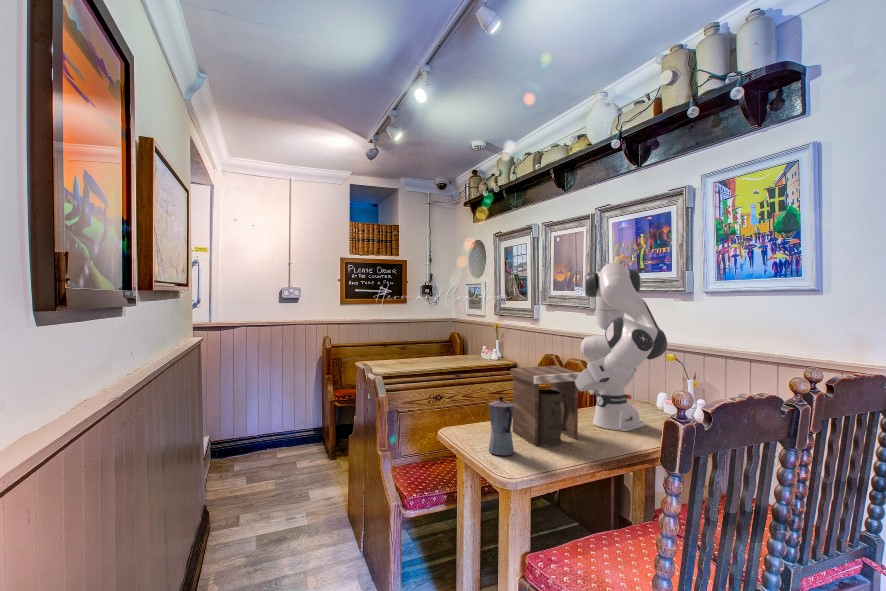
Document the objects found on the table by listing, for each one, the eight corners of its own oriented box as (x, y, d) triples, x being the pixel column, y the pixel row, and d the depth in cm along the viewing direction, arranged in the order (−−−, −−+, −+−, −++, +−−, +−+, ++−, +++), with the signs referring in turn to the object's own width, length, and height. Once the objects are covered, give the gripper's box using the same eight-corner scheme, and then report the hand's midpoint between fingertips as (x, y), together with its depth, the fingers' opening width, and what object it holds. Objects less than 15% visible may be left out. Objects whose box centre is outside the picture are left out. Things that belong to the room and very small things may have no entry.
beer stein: (544, 448, 155) (548, 394, 155) (525, 439, 164) (529, 388, 164) (574, 444, 162) (577, 393, 162) (554, 435, 171) (557, 387, 172)
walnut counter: (553, 426, 180) (554, 365, 180) (581, 440, 164) (582, 373, 163) (509, 432, 172) (510, 368, 172) (534, 447, 155) (535, 376, 155)
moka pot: (504, 443, 159) (504, 391, 159) (524, 459, 145) (525, 401, 145) (481, 446, 156) (482, 393, 156) (499, 462, 142) (500, 404, 141)
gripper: (633, 359, 139) (611, 382, 148) (584, 363, 131) (564, 386, 141) (644, 375, 135) (621, 397, 144) (594, 379, 127) (572, 403, 137)
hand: (592, 392), depth 142 cm, fingers closed
